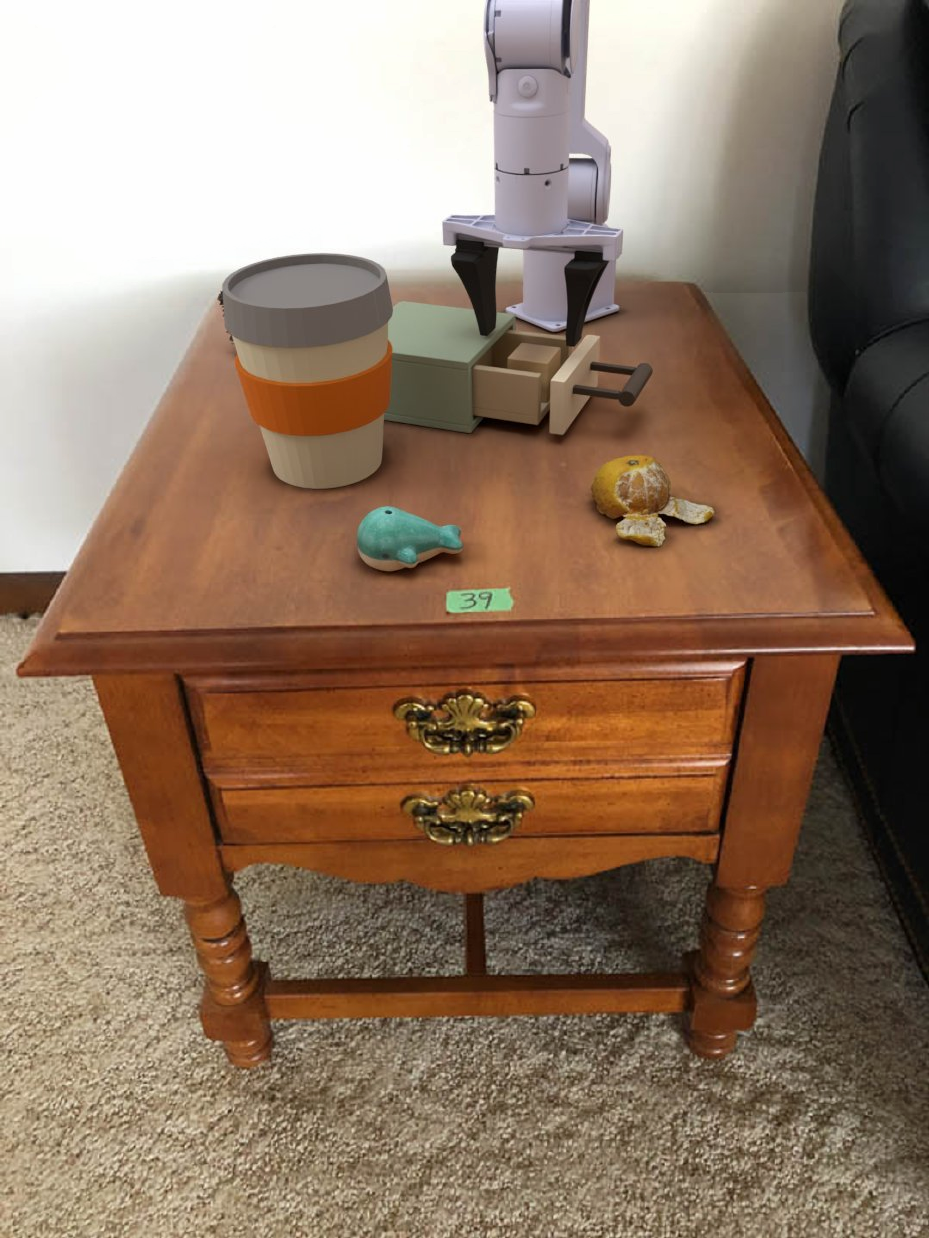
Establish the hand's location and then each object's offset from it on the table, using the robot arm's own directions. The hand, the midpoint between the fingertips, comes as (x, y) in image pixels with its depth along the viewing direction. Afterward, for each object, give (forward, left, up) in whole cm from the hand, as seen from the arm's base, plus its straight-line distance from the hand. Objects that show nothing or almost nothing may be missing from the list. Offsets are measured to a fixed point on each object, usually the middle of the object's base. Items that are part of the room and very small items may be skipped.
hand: (530, 337), depth 87 cm
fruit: (+6, +19, -7) cm, 21 cm away
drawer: (-1, +2, -6) cm, 6 cm away
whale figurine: (+22, +12, -7) cm, 26 cm away
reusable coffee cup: (+19, -4, -7) cm, 20 cm away
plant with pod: (+10, -26, -2) cm, 28 cm away
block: (0, +1, -5) cm, 5 cm away
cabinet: (+5, -8, -7) cm, 11 cm away
